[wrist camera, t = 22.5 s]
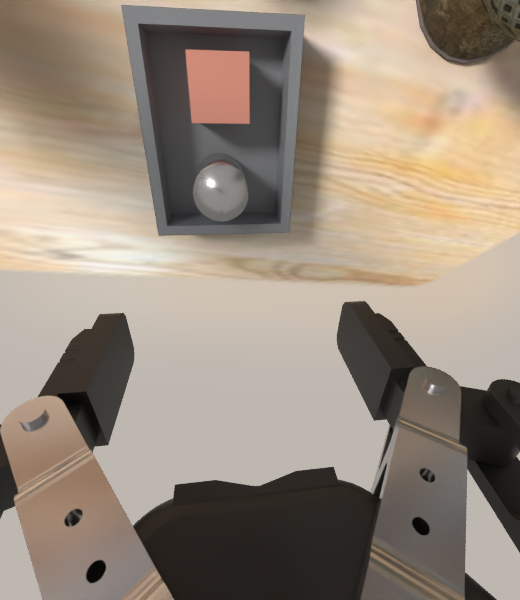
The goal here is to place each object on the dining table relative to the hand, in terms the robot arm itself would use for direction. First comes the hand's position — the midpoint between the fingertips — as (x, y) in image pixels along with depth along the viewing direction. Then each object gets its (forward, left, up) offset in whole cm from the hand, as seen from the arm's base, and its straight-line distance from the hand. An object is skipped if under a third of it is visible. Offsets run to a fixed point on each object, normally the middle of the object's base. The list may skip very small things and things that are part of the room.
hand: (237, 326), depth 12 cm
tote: (-4, 0, -28) cm, 28 cm away
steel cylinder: (0, 0, -27) cm, 27 cm away
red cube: (-8, 0, -27) cm, 28 cm away
